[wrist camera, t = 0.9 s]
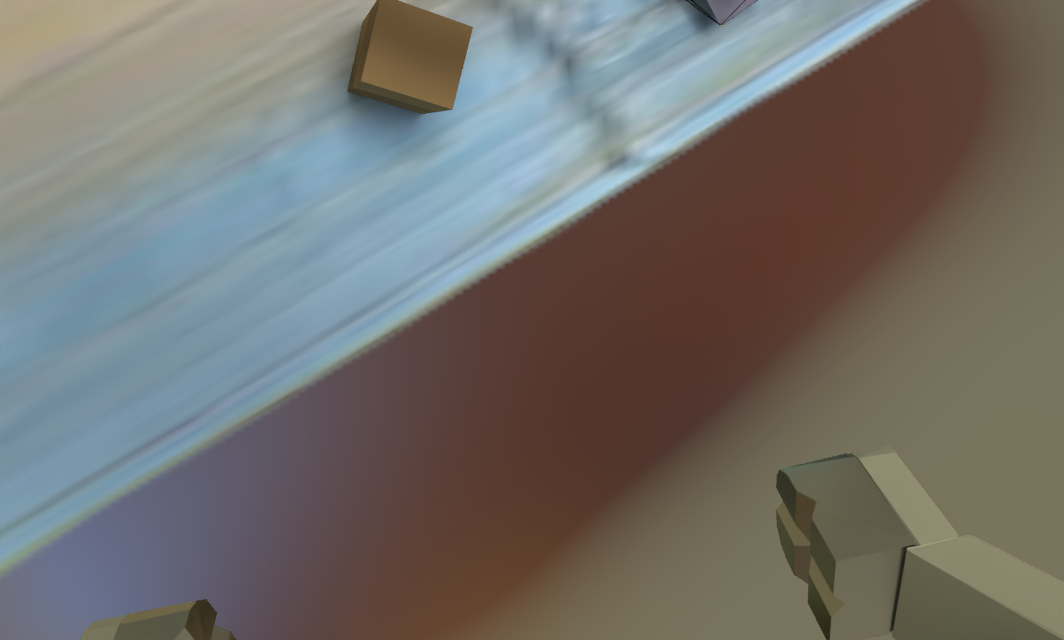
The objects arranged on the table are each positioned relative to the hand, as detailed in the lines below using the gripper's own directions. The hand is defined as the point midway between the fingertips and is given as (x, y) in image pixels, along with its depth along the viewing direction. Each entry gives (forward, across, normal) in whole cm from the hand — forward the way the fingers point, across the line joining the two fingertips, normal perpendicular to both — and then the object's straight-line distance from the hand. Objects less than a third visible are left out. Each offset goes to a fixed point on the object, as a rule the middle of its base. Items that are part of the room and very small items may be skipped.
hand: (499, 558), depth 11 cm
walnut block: (+39, +4, +3) cm, 39 cm away
